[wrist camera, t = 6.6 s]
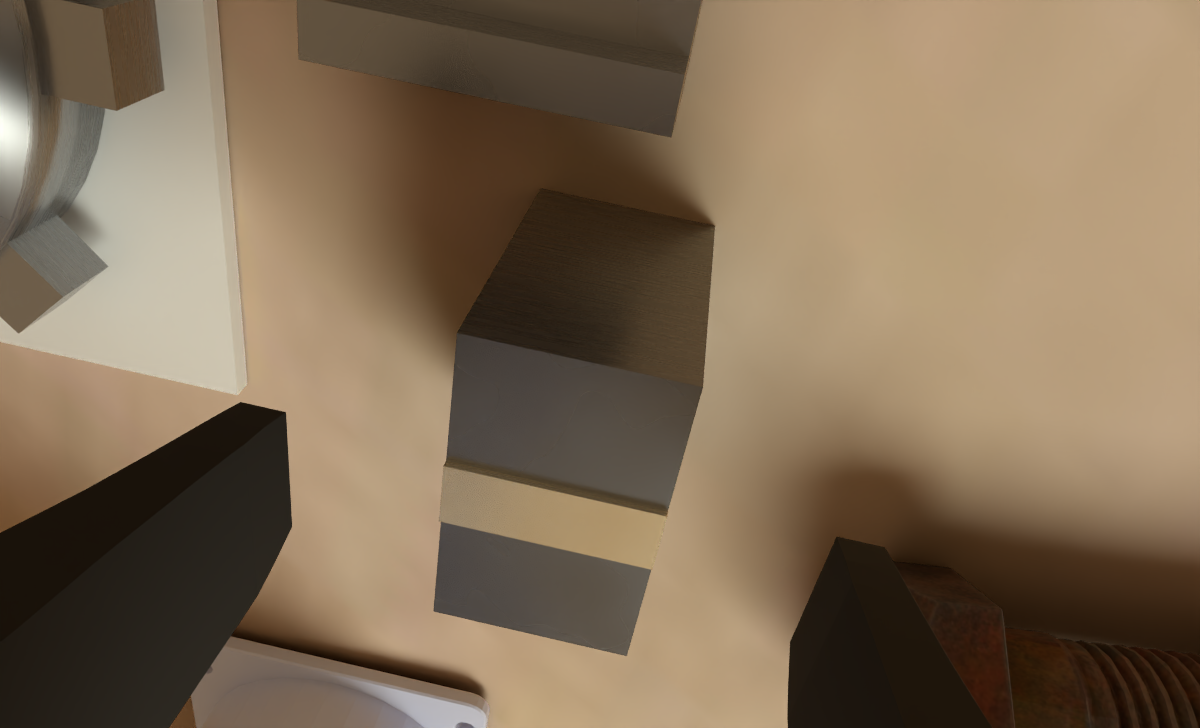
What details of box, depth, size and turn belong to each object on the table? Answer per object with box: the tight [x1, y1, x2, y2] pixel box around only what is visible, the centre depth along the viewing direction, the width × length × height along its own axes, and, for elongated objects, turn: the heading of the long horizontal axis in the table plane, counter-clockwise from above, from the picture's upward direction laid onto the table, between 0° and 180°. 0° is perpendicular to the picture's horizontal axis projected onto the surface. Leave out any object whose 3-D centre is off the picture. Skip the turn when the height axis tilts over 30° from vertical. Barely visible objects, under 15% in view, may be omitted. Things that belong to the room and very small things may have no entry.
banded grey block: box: [434, 189, 715, 656], centre depth 13 cm, size 5×3×5 cm, turn 170°
